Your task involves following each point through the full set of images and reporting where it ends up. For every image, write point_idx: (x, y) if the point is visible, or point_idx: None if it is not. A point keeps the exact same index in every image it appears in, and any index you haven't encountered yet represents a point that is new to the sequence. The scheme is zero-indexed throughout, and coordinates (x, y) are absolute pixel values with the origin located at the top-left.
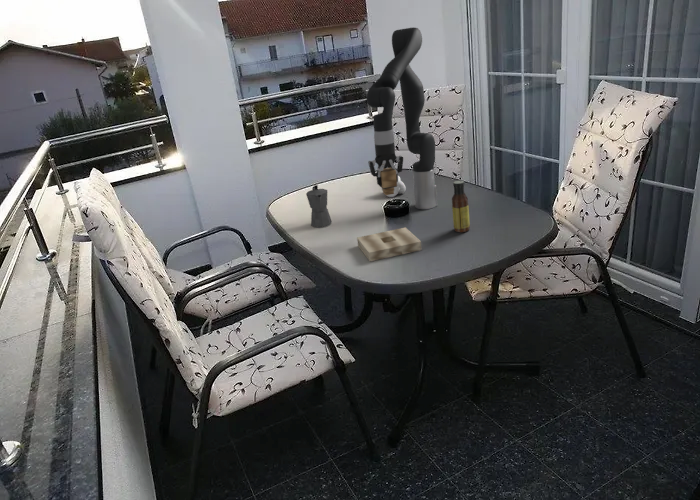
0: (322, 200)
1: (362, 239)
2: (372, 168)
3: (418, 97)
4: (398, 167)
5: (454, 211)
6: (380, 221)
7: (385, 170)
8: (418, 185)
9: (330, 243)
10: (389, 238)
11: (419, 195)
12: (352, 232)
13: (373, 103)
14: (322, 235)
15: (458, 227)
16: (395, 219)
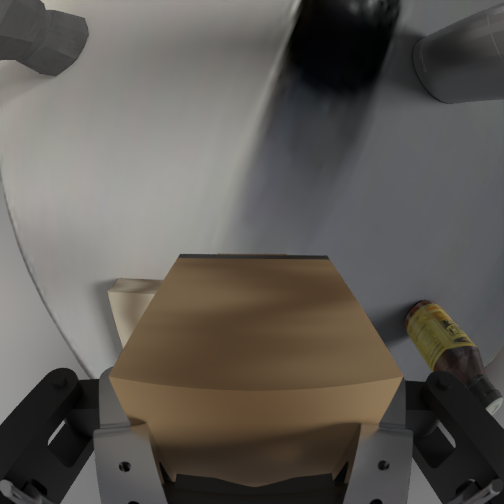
0: (3, 50)
1: (122, 314)
2: (48, 484)
3: None
4: (445, 413)
5: (428, 360)
6: (246, 93)
7: (233, 459)
8: (480, 64)
9: (54, 218)
10: None
11: (452, 73)
12: (117, 156)
13: None
14: (42, 143)
15: (410, 337)
16: (309, 107)
